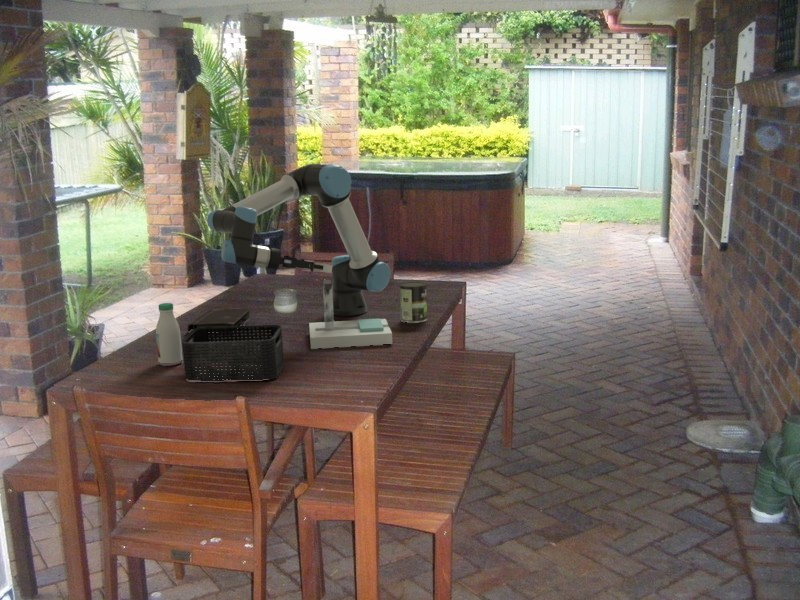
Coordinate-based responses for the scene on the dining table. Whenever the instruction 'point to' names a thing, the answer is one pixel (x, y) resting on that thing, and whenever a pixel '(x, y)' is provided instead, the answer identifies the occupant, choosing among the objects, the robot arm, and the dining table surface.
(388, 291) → the dining table surface
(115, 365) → the dining table surface
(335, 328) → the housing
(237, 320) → the diary
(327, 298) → the t key
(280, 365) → the storage bin
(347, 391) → the dining table surface
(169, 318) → the milk bottle
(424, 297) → the coffee can
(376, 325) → the cover
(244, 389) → the dining table surface
